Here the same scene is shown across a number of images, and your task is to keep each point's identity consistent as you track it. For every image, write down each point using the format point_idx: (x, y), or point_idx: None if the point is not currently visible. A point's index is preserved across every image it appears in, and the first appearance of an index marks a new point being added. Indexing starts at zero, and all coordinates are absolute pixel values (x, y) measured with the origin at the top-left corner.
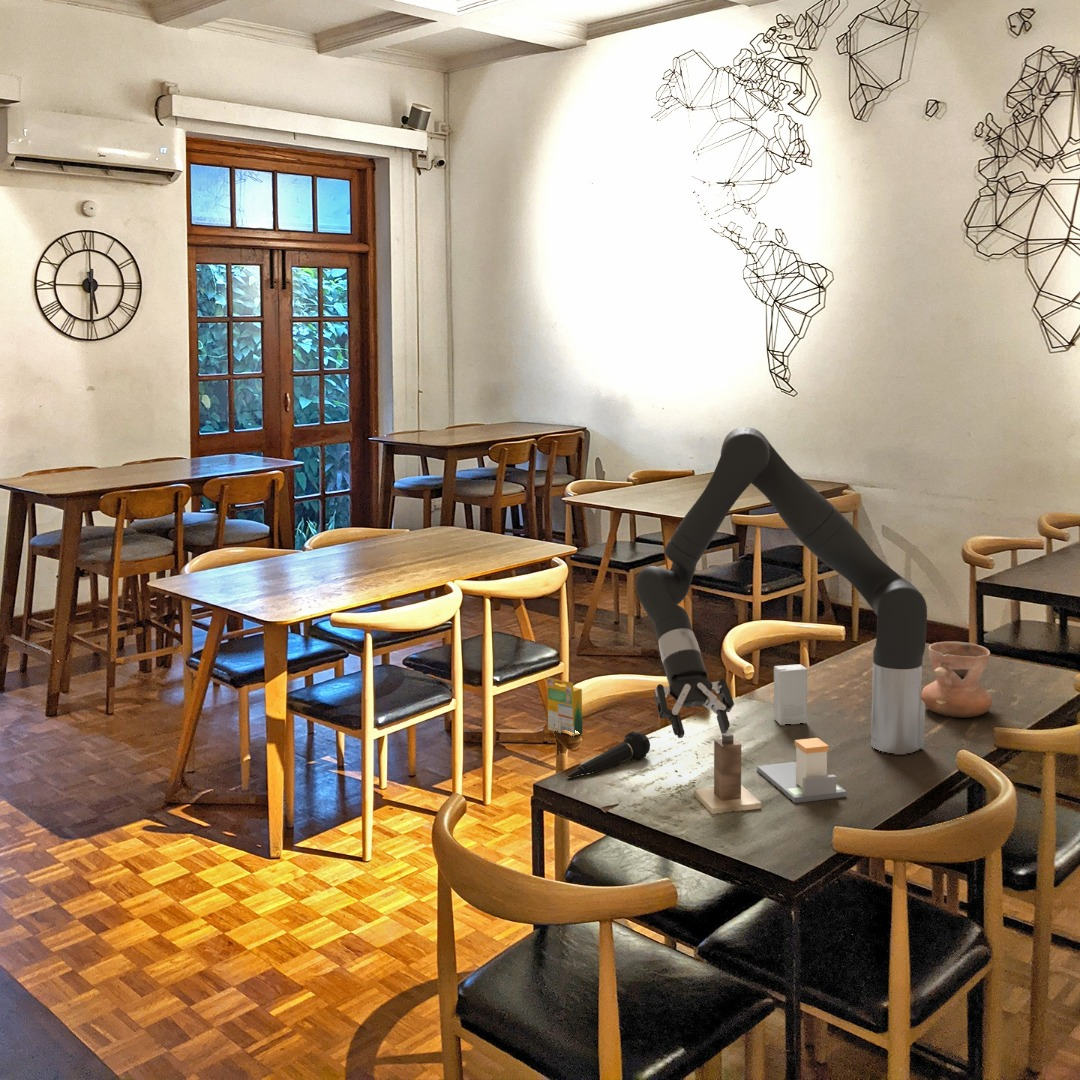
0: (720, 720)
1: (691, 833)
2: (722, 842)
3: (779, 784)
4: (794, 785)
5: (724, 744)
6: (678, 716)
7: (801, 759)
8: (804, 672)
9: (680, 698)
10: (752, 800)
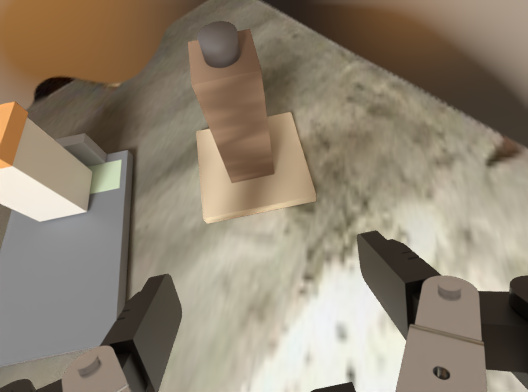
0: (157, 326)
1: (334, 64)
2: (292, 44)
3: (122, 211)
4: (95, 204)
5: (238, 39)
6: (411, 275)
7: (41, 153)
8: None
9: (456, 369)
10: (207, 141)
